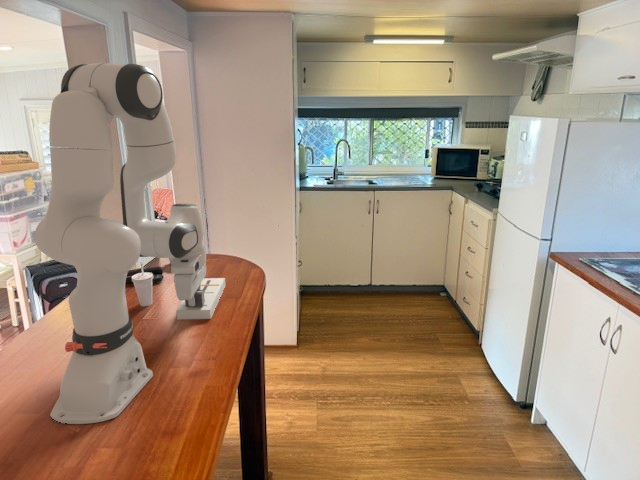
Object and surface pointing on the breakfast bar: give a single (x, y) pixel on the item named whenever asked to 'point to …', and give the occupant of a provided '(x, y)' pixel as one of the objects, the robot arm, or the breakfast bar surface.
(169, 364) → the breakfast bar surface
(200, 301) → the fader knob
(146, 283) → the smoothie
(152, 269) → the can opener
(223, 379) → the breakfast bar surface
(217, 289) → the fader console
